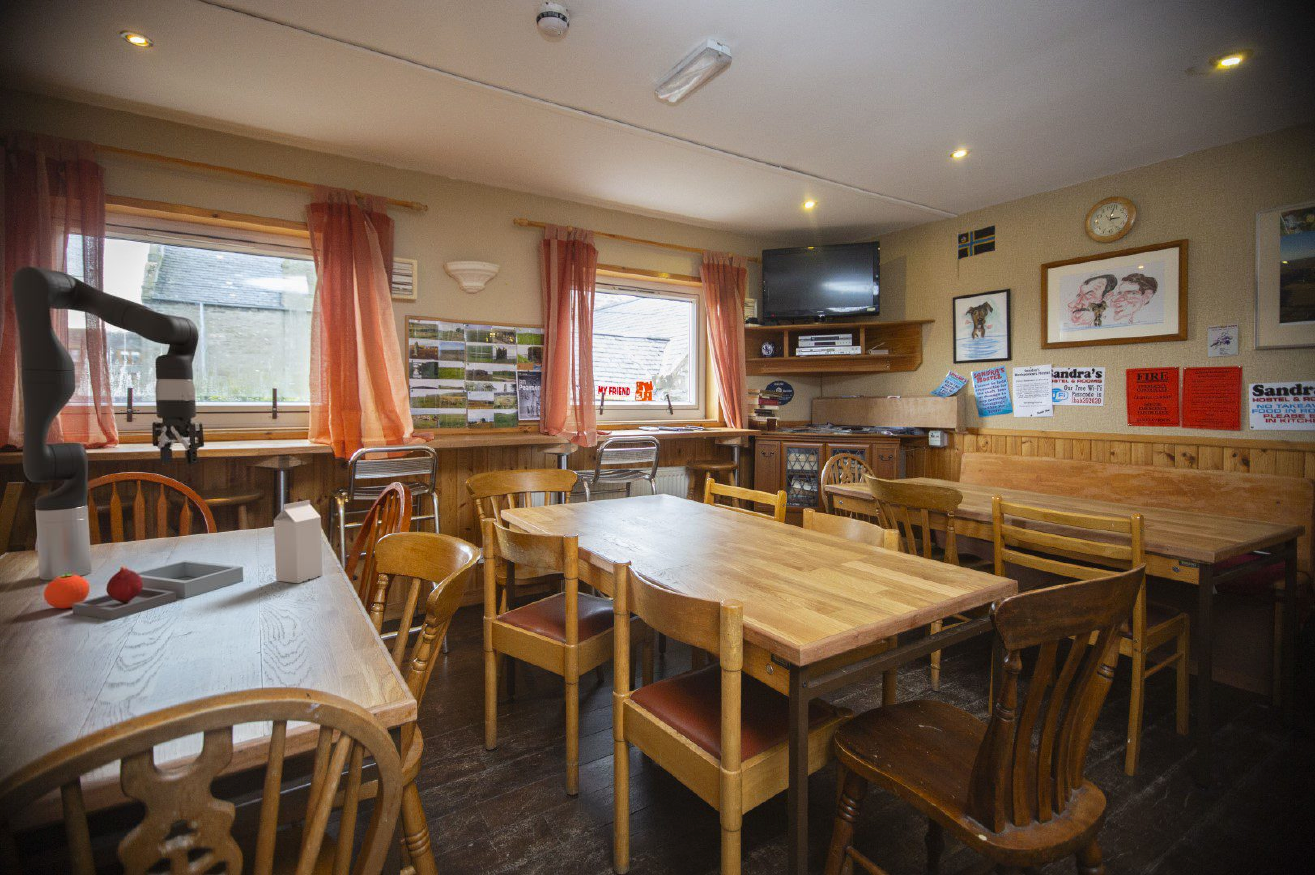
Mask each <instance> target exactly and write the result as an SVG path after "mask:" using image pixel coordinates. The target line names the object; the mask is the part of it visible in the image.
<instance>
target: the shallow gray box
mask: <svg viewBox="0 0 1315 875" xmlns="http://www.w3.org/2000/svg"><path fill="white" fill-rule="evenodd" d="M135 572H136V573H137V574H138V575H139V576H140V577H141V579H142V581H143V587H144V588H151V589H158V590H165V591H173V592H176V598H181V599H188V598H192V597H195V596H197V595H201V594H205V593H208V592H212V591H214V590H217V589H221V588H224V587H228V586H231V585H235V584H238V583H242V582H244V568H243V566H238V565H230V564H229V565H228V564H220V563H212V562H211V563H210V562H205V561H204V562H203V561H195V560H182V561H177V562H173V563H169V564H164V565H161V566H156V567H152V568H148V569H144V570H140V571H135ZM184 576H185V577H192V579H188V580H184V579H183V580H182V579H177V578H180V577H181V578H182V577H184ZM193 577H194V578H193Z"/></svg>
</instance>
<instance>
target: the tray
mask: <svg viewBox="0 0 1315 875" xmlns="http://www.w3.org/2000/svg"><path fill="white" fill-rule="evenodd" d="M173 602H177V597H176V592H173V591H165V590H158V589H151V588H144V587H143V588H142V590H141V592H140V593H139V594H138V595H137V596H136V597H135V598H133V599H132V600H131V601H129V602H128V603H121V602H119V601H116V600H115V599H113V598H111V597H110V596H109V595H108V594H104V595H101V596H96V597H94V598H90V599H85V600H84V601H81V602H78V603H74V604H72V607H71V608H72V614H74V615H80V616H85V617H90V618H91V617H93V618H98V619H103V620H109V621H110V620H111V621H113V620H116V619H120V618H123V617H126V616H127V617H128V616H130V615H133V614H137V613H140V612H143V611H147V610H150V609H153V608H157V607H159V606H163V605H167V604H170V603H173Z"/></svg>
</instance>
